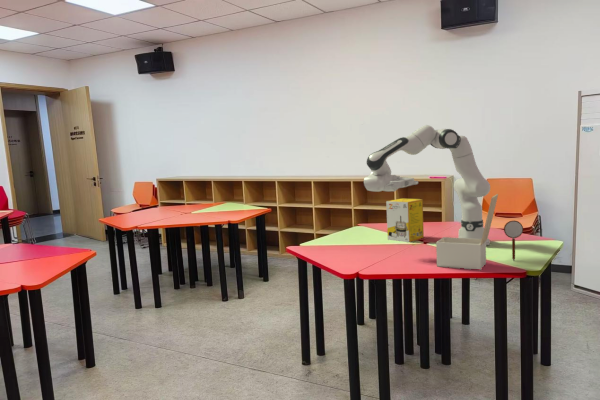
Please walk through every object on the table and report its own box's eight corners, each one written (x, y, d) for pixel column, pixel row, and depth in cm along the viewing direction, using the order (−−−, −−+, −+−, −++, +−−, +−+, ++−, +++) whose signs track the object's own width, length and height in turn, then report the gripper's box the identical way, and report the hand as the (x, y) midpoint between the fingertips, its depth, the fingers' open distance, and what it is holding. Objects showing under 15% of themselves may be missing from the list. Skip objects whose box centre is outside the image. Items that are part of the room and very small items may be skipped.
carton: (444, 260, 225) (443, 237, 224) (486, 263, 215) (485, 239, 213) (436, 266, 215) (436, 242, 213) (480, 270, 204) (480, 244, 203)
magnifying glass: (522, 260, 216) (522, 220, 214) (523, 261, 215) (523, 220, 213) (503, 260, 218) (503, 220, 216) (504, 261, 217) (504, 221, 215)
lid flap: (496, 194, 209) (498, 194, 208) (485, 239, 214) (487, 239, 213) (491, 197, 197) (493, 197, 197) (480, 244, 202) (481, 245, 202)
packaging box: (387, 239, 286) (386, 201, 283) (402, 235, 297) (401, 198, 294) (408, 242, 274) (407, 202, 271) (423, 237, 284) (422, 199, 282)
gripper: (384, 178, 231) (410, 178, 224) (398, 175, 248) (422, 175, 241) (385, 190, 232) (410, 190, 224) (398, 187, 249) (423, 186, 241)
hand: (417, 182), depth 233 cm, fingers closed
